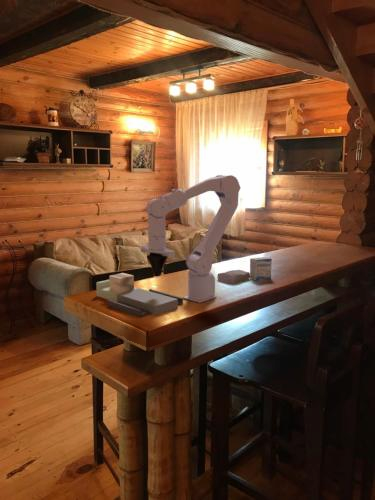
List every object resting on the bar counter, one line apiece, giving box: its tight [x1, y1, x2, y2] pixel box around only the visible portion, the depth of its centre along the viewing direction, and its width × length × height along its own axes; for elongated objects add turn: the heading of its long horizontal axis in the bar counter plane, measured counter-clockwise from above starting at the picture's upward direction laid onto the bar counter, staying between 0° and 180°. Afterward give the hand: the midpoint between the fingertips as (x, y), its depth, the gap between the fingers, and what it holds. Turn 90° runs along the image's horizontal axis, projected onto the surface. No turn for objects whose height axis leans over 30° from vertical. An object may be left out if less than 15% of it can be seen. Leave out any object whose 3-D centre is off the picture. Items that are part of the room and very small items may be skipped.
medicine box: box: [249, 256, 273, 281], centre depth 178 cm, size 8×4×9 cm, turn 115°
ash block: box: [108, 272, 135, 293], centre depth 151 cm, size 6×6×5 cm
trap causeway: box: [95, 279, 184, 318], centre depth 147 cm, size 19×30×5 cm, turn 47°
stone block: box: [216, 269, 251, 285], centre depth 177 cm, size 12×5×10 cm
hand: (157, 275), depth 145 cm, fingers closed
